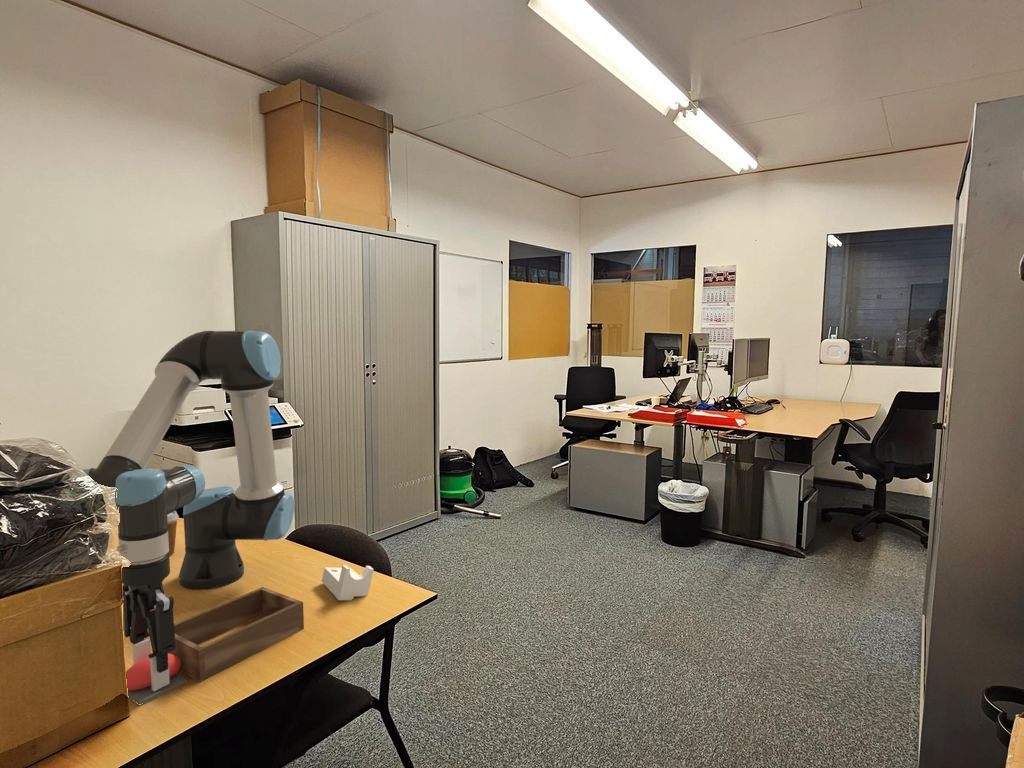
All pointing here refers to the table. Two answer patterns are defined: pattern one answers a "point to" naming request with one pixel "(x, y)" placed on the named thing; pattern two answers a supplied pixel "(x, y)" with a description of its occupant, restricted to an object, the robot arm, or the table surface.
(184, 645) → the walnut box
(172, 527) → the disposable coffee cup
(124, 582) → the robot arm
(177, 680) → the slate mat
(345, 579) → the bracket
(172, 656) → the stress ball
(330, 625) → the table surface
